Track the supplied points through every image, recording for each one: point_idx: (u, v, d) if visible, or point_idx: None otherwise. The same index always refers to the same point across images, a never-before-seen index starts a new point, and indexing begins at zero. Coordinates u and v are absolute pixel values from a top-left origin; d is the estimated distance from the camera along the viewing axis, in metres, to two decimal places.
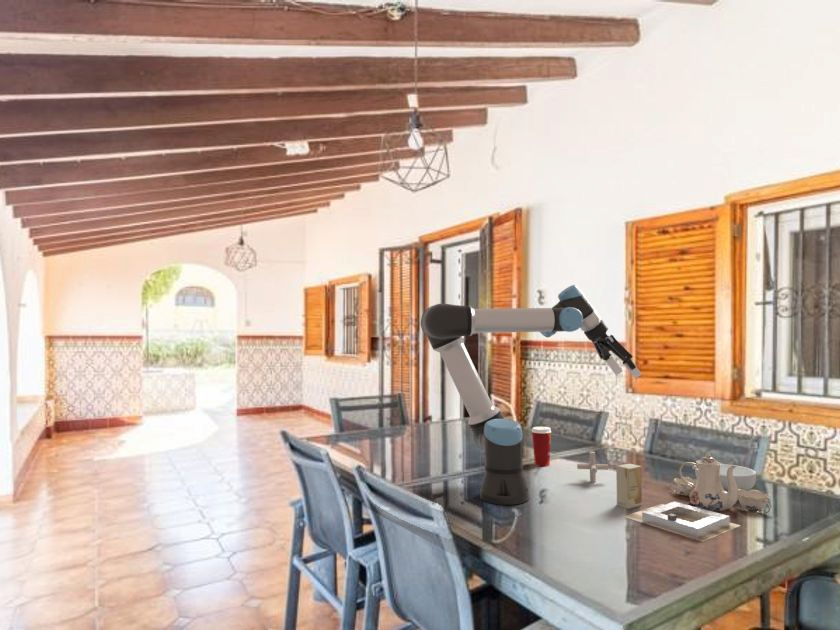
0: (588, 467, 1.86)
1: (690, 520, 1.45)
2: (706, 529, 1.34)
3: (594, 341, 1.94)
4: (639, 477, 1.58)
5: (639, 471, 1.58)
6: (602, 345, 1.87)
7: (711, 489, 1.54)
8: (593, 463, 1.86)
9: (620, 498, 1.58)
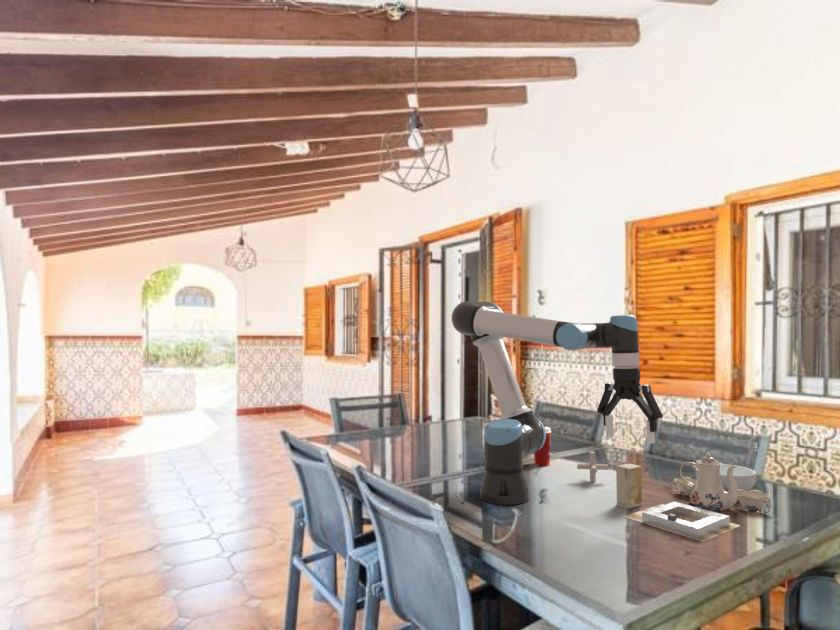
0: (588, 467, 1.86)
1: (690, 520, 1.45)
2: (706, 529, 1.34)
3: (609, 388, 1.65)
4: (639, 477, 1.58)
5: (639, 471, 1.58)
6: (628, 392, 1.59)
7: (711, 489, 1.54)
8: (593, 463, 1.86)
9: (620, 498, 1.58)
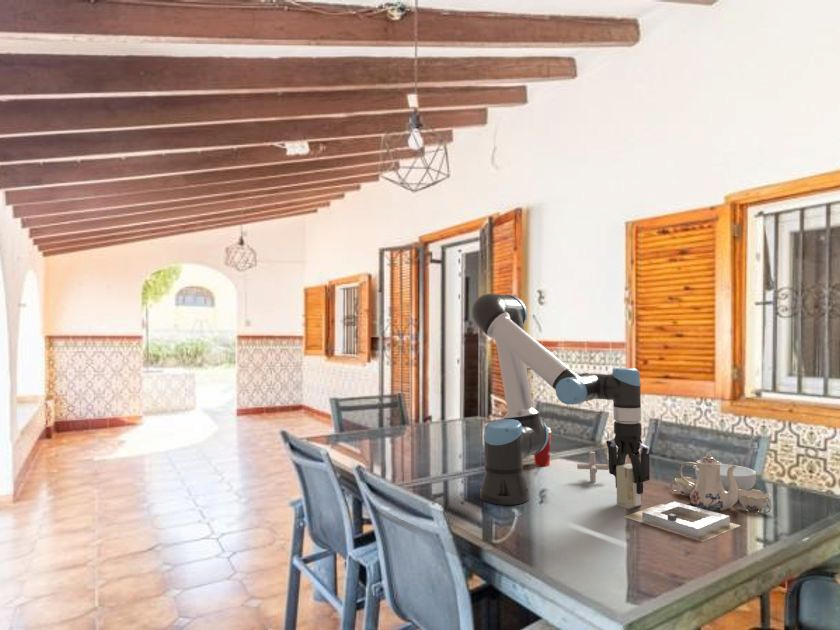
0: (588, 467, 1.86)
1: (690, 520, 1.45)
2: (706, 529, 1.34)
3: (611, 444, 1.63)
4: None
5: None
6: (628, 448, 1.57)
7: (711, 489, 1.54)
8: (593, 463, 1.86)
9: (620, 498, 1.58)
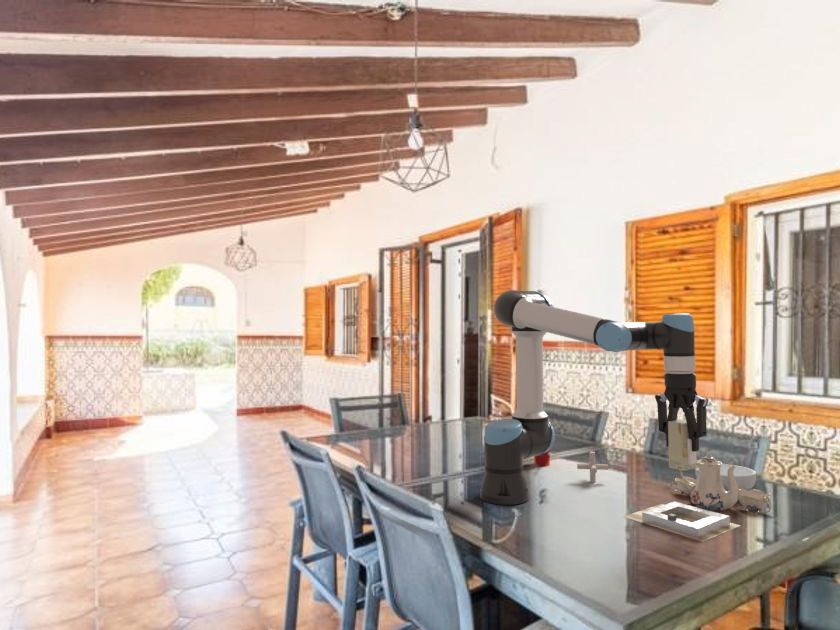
0: (588, 467, 1.86)
1: (690, 520, 1.45)
2: (706, 529, 1.34)
3: (661, 398, 1.48)
4: None
5: None
6: (682, 401, 1.42)
7: (712, 489, 1.54)
8: (593, 463, 1.86)
9: (673, 456, 1.42)
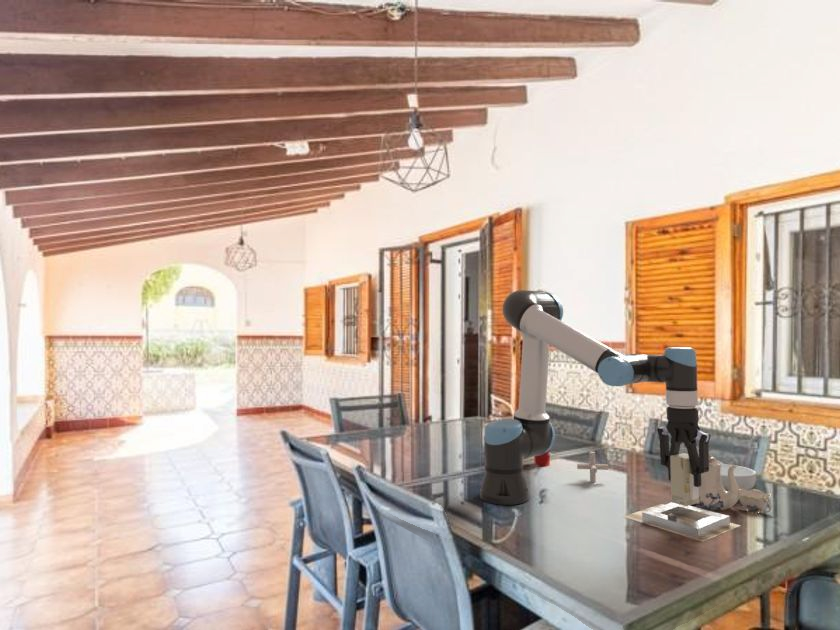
0: (588, 467, 1.86)
1: (690, 520, 1.45)
2: (706, 529, 1.34)
3: (663, 432, 1.47)
4: None
5: None
6: (684, 435, 1.41)
7: (712, 489, 1.54)
8: (593, 463, 1.86)
9: (675, 491, 1.42)
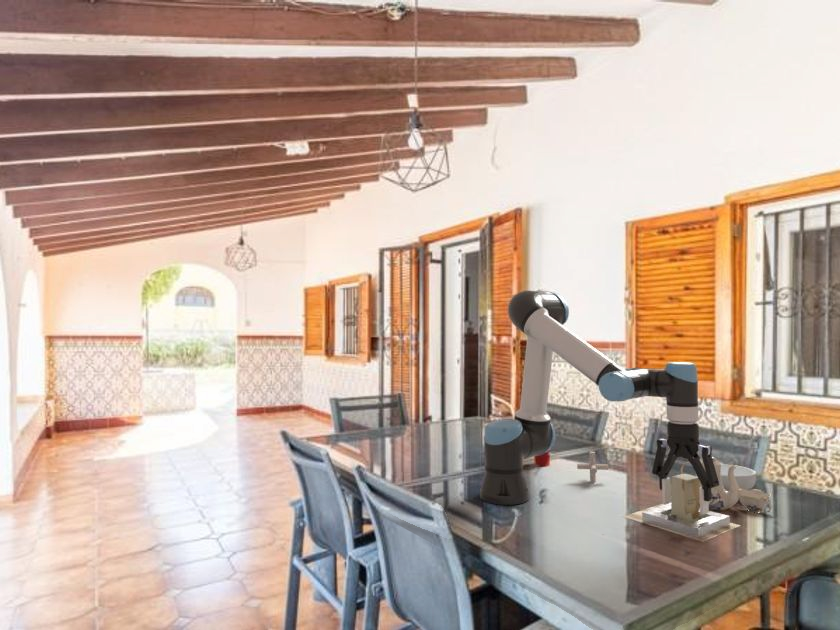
0: (588, 467, 1.86)
1: None
2: (706, 529, 1.34)
3: (662, 444, 1.47)
4: (697, 489, 1.42)
5: (697, 483, 1.42)
6: (685, 451, 1.41)
7: (712, 489, 1.54)
8: (593, 463, 1.86)
9: (675, 512, 1.42)
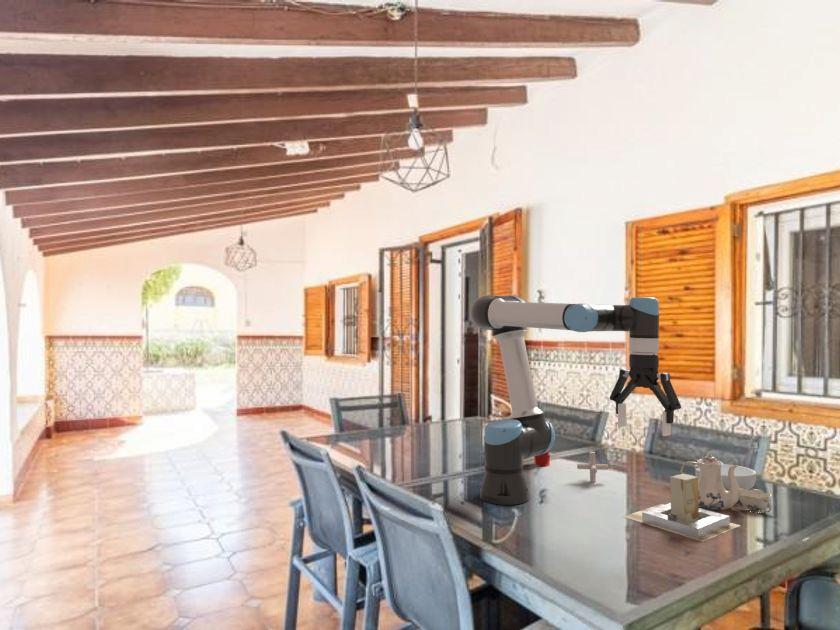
0: (588, 467, 1.86)
1: None
2: (706, 529, 1.34)
3: (624, 374, 1.55)
4: (696, 489, 1.42)
5: (696, 482, 1.42)
6: (645, 380, 1.48)
7: (712, 489, 1.54)
8: (593, 463, 1.86)
9: (675, 512, 1.42)
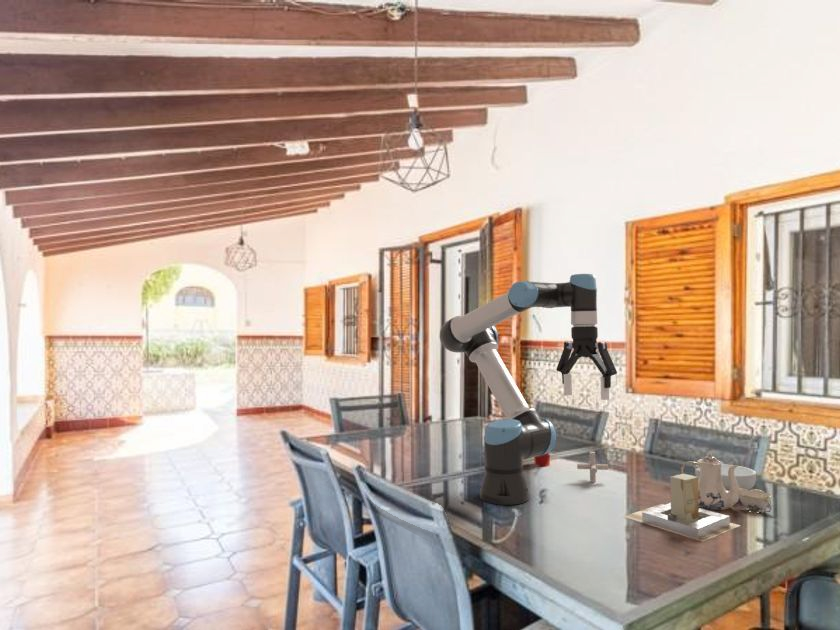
0: (588, 467, 1.86)
1: None
2: (706, 529, 1.34)
3: (568, 346, 1.67)
4: (696, 489, 1.42)
5: (696, 482, 1.42)
6: (585, 349, 1.61)
7: (712, 488, 1.54)
8: (593, 463, 1.86)
9: (675, 512, 1.42)
